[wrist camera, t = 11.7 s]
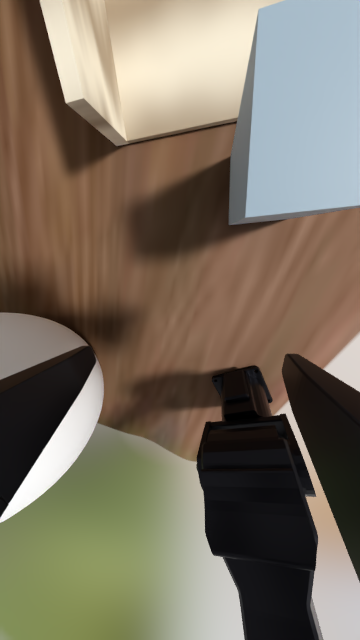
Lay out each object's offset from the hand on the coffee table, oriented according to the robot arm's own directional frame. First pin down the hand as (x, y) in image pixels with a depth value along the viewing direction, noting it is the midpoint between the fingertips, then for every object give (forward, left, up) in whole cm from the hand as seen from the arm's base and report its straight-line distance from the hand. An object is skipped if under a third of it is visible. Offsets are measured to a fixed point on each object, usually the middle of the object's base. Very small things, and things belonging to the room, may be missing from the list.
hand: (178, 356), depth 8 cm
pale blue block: (+5, -8, -13) cm, 16 cm away
